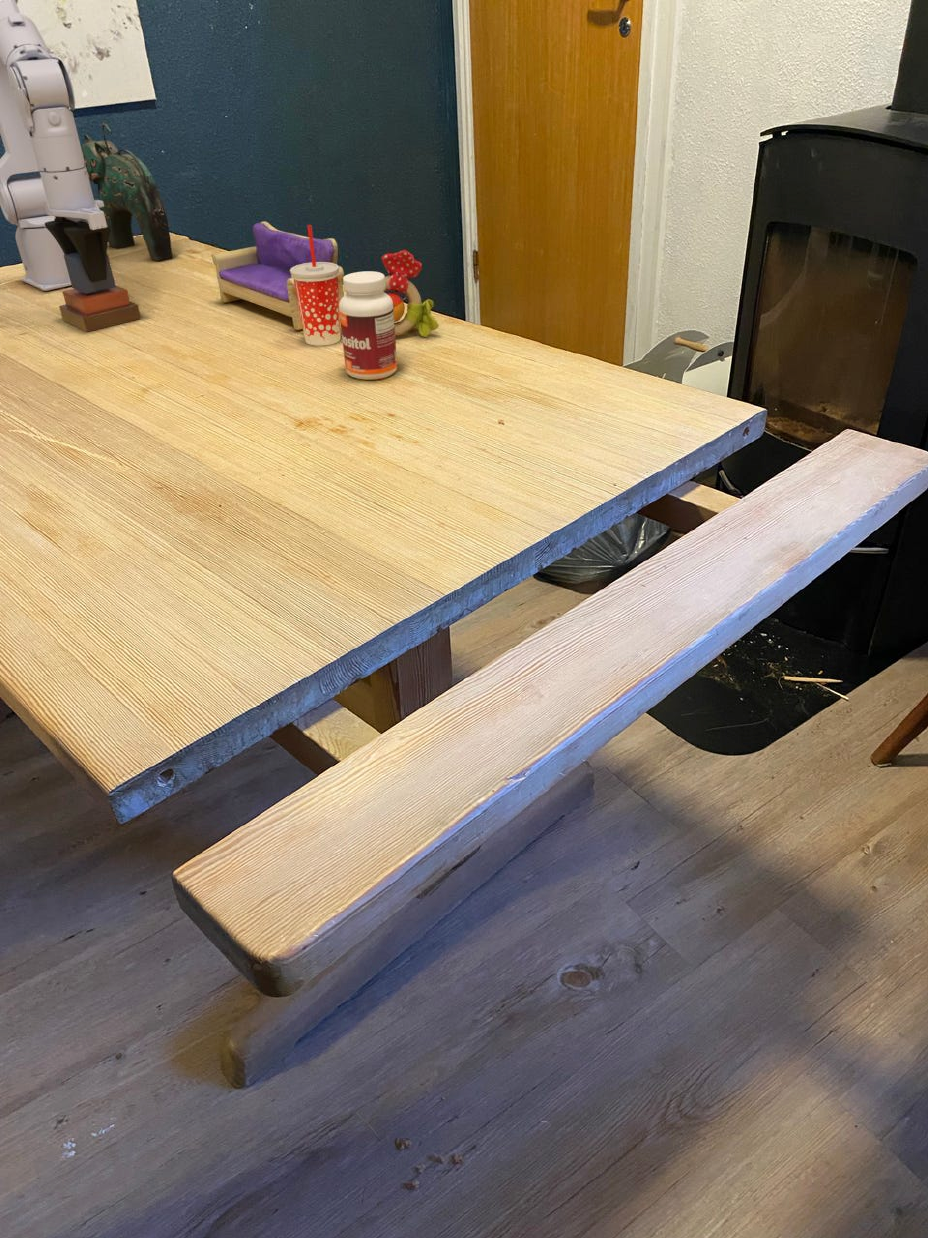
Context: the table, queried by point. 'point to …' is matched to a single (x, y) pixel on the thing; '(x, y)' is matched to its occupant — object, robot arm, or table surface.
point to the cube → (81, 278)
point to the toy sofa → (271, 269)
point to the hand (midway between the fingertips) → (91, 277)
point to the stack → (98, 308)
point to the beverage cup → (318, 299)
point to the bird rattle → (407, 294)
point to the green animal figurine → (127, 196)
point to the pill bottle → (367, 326)
